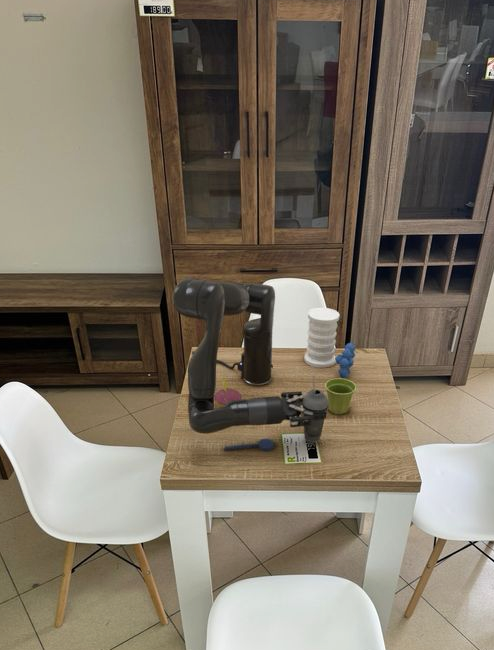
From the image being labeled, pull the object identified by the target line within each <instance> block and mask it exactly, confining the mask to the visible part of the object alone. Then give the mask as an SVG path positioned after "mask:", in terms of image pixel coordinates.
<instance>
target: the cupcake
mask: <svg viewBox="0 0 494 650" xmlns="http://www.w3.org/2000/svg"><path fill="white" fill-rule="evenodd" d="M222 383H223V388H221V389H219V390H217V391H216V392H215V393H214V405H216V406H217V408H222V407H224V406H225V403H226V402H228V401H231V400H243V396H242V394H241V393H240V392H239V391H237V389H234V388H228V387H227V385H226V384H227V383H226V376H224V375H222Z"/></svg>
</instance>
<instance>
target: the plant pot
mask: <svg viewBox="0 0 494 650" xmlns="http://www.w3.org/2000/svg"><path fill="white" fill-rule="evenodd" d="M324 387H325V390H326V393H327V399H328V408H327V410H328V411H330V412H331V413H332V414H335V415H342V414H343V415H344V414H346V413H348V411H349V407H350V404H351V402H352V401H351V400H352V397H353V395H354V393H355V392H356V390H357V385H356V383H355V382H353V381H352V380H350V379H347V378H346V379H343V378H340V377H336V378H330V379H328V380H327V381H326V382H325V383H324Z"/></svg>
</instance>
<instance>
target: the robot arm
mask: <svg viewBox="0 0 494 650" xmlns="http://www.w3.org/2000/svg"><path fill="white" fill-rule="evenodd" d="M172 304H173V306H174V308H175V310H176V311H177V313H178V314H179V315H182V316H183V317H185V318H190V319H196V320H202V321H205V333H204V336H203V337H202V339H201V342H200V343H199V344H198V346H197V348H196V349H195V350H194V351H192V353H191V354H192V355H191V357H190V359H189V361H188V366H187V388H188V399H187V414H188V422H189V426H190V428H191V429H192V430H193V431H194V432H195V433H197V434H203V435H204V434H207V435H209V434H213V433H216V432H220V431H223V430H226V429H229V428H232V427H242V426H243V427H244V426H267V425H268V426H269V425H280V424H282V423H283V421H289V427H290V428H300V427H304V426H311V425H312V421H313V420H319V419H324V420H326V419H327V413H328V412H326V411H313V412H310V411H306V409H304V408H303V407H302V406H303V405H302V402H303V399H304V396H305V395H306V394H303V392H302V391H284V392H281V393H280V396H279V395H274V396H261V397H259V396H258V397H251V398H244V399H243V398H242V400H231V401H228V402H226V403H225V406H224V407H222V408H218V407H217V408H215V403H214V395H215V393H216V390H217V363H218V364H222V365H223V366H224V367H226V368H228V369H231V370H233V369H234V368H235V367H236V366H237V367H236V369H237V371H239V372H240V376H241V377H240V378H241V380H243V381H244V383H246V384H247V385H249V386H253V387H262V386H266V385H268V384H270V383H271V382H272V369H274V365H273V364H272V362H273V361H272V360H273V329H274V328H273V327H274V317H275V306H276V305H275V304H276V291H275V288H274V287H273V286H272V285H269V284H262V283H256V282H243V283H240V282H238V281H228V280H224V281H223V280H222V281H212V280H207V279H202V278H195V277H186V278H183V279H181V280H180V281H179V282H178V283H177V284H176V285H175V288H174V290H173V292H172ZM242 313H247V314H254V315H259V316H260V317H259V318H254V319H250V320H247V321H246V322H245V323H244V325H243V352H242V353H241V354H240V357H241V358H240V361H239V362H234V363H233V364H232V365H231V366H230V365H228V364H227V363H225V362H224V361H222V360H219V359H218V352H219V346H220V340H221V334H222V328H223V322H224V320H223V319H224V317H233V316H239V315H241V314H242ZM305 414H306V415H308V416H305ZM304 420H305V421H308V422H304Z"/></svg>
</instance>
